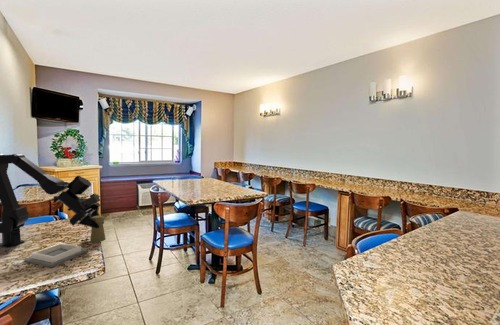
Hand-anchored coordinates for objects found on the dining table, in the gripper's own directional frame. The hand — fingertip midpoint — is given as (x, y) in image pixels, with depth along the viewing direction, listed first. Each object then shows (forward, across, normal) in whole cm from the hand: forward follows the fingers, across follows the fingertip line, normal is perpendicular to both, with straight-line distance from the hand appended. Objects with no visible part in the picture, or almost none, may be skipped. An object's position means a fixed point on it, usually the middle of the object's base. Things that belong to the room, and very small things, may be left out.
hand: (101, 225), depth 116 cm
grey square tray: (-2, -16, +12) cm, 20 cm away
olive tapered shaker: (+4, 0, +6) cm, 7 cm away
